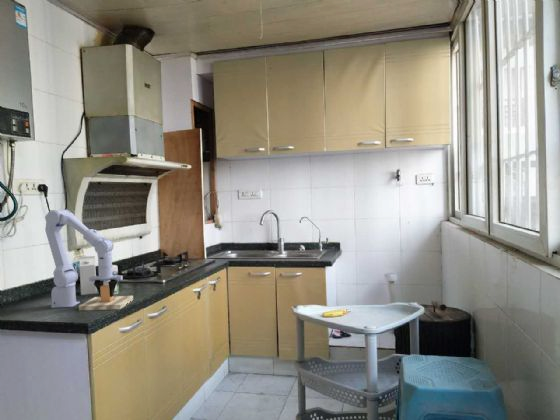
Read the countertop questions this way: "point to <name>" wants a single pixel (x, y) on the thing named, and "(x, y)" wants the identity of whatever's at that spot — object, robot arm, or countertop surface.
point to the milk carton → (87, 275)
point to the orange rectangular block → (105, 293)
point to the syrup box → (114, 272)
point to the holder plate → (105, 303)
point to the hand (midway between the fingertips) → (106, 296)
